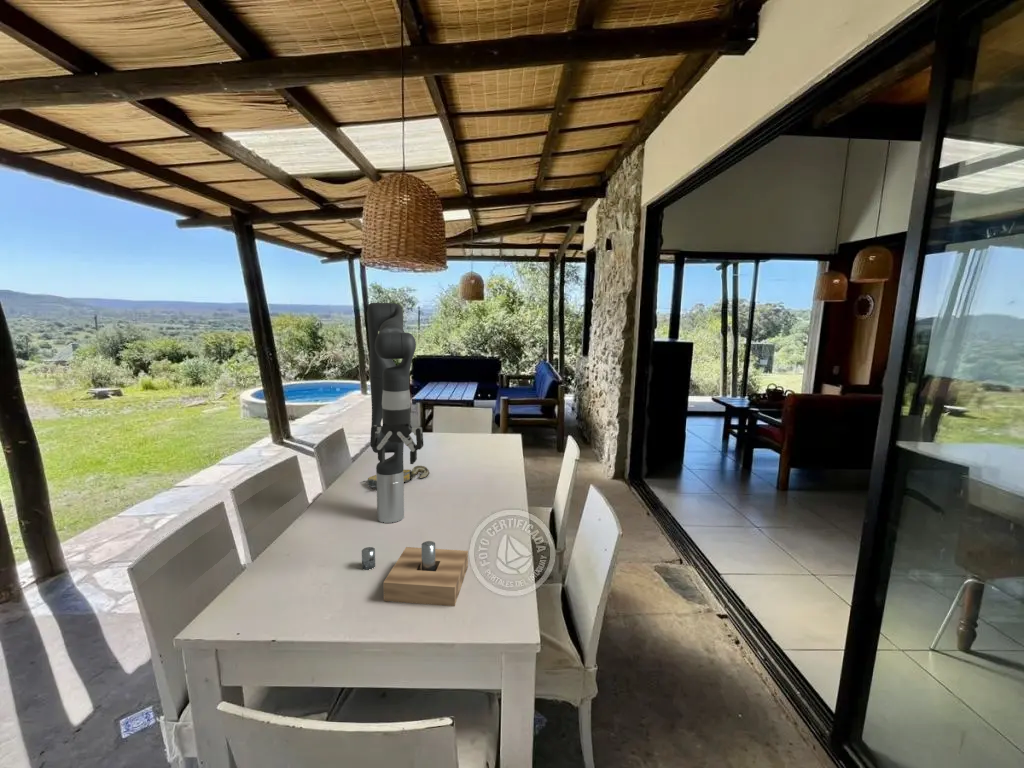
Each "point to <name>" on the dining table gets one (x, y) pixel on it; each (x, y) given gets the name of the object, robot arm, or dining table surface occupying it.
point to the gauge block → (426, 578)
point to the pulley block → (407, 475)
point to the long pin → (428, 556)
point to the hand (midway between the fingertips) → (397, 462)
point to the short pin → (368, 558)
